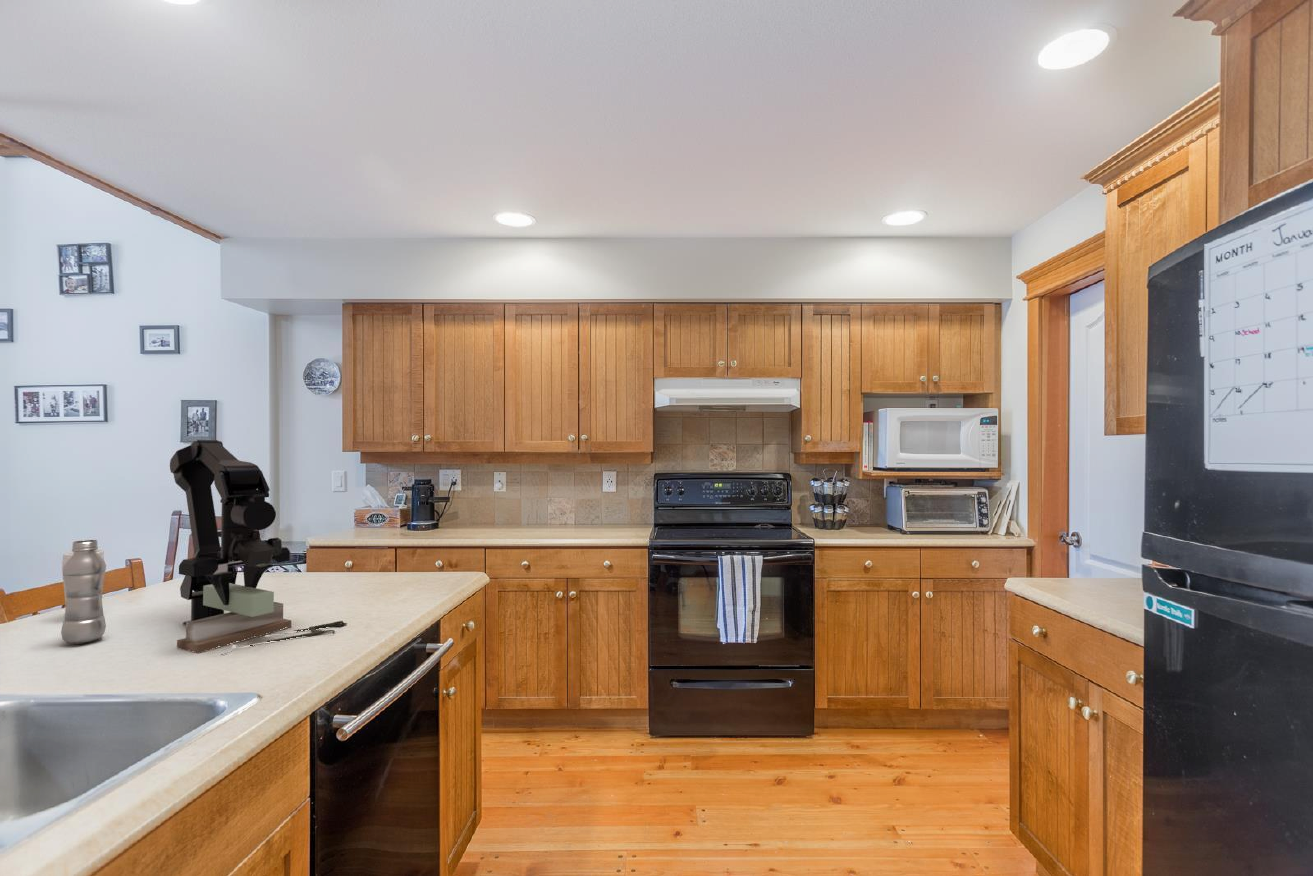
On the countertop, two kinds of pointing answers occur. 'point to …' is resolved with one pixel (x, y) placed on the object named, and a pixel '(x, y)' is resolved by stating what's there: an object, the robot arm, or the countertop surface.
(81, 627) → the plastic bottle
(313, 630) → the brown tree branch
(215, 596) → the bar
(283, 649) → the countertop surface
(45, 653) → the countertop surface
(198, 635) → the ridge stand
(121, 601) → the countertop surface
